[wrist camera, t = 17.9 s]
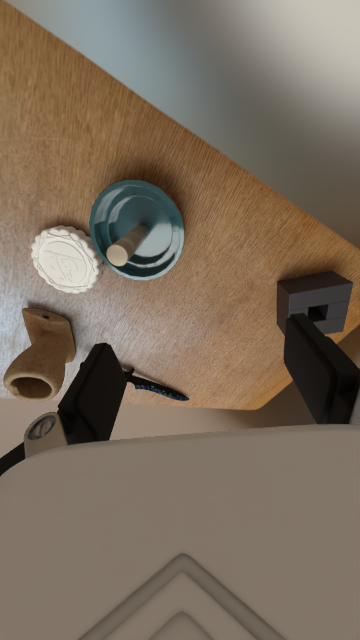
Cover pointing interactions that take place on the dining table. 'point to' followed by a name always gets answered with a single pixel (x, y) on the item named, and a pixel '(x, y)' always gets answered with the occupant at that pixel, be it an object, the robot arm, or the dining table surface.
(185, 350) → the dining table surface
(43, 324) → the brown hollow clay piece
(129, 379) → the knife
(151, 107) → the dining table surface
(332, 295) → the holder
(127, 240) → the stick
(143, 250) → the bowl
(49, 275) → the mooncake
